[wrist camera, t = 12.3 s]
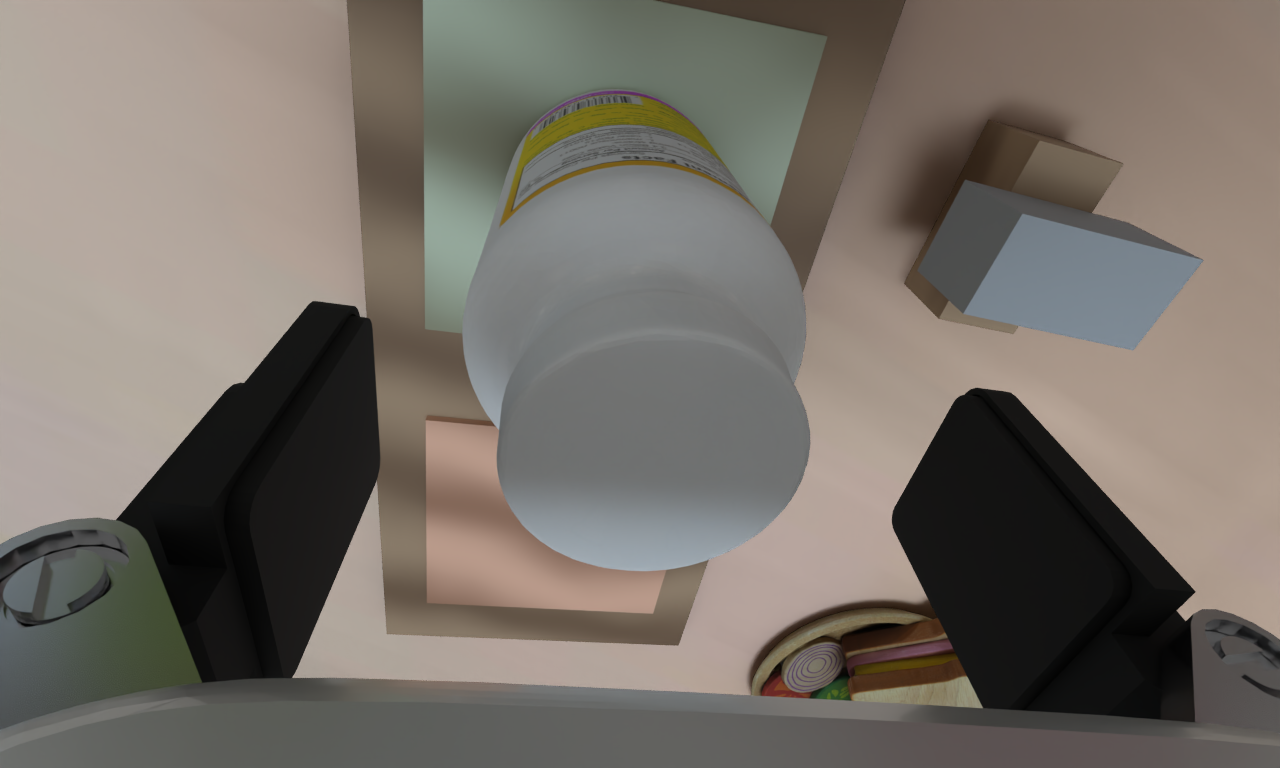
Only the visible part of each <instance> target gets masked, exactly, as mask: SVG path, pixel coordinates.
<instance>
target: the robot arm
mask: <svg viewBox="0 0 1280 768" xmlns="http://www.w3.org/2000/svg"><path fill="white" fill-rule="evenodd" d="M379 469H380V440H379V424H378V408H377V392H376V375H375V359H374V343H373V328H372V322H371V320H370V319H369V318H364V317H360V315H359V312H358V309H357V308H356V307H355V306H348V305H341V304H333V303H326V302H318V301H313V302H311V303H310V304H309V305H308V306H307V307H306V309H305V310H304V311H303V312H302V313H301V315H300V316H299V317H298V318H297V320H296V321H295V322H294V323H293V324H292V326H291V327H290V328H289V329H288V331H287V332H286V333H285V334H284V335H283V337H282V338H281V339H280V340H279V341H278V343H277V344H276V345H275V346H274V348H273V349H272V350H271V351H270V352H269V354H268V355H267V356H266V357H265V358H264V360H263V361H262V362H261V363H260V365H259V366H258V367H257V368H256V369H255V371H254V372H253V373H252V374H251V376H250V377H249V378H248V379H247V380H246V382H245V383H238V384H234V385H232V386H231V387H230V388H229V389H227V390H226V391H225V392H224V394H223V395H222V396H221V397H220V398H219V399H218V401H217V402H216V403H215V404H214V405H213V406H212V408H211V409H210V410H209V411H208V412H207V414H206V415H205V416H204V417H203V418H202V419H201V421H200V422H199V423H198V424H197V425H196V426H195V428H194V429H193V430H192V431H191V432H190V434H189V435H188V436H187V437H186V438H185V439H184V441H183V442H182V443H181V444H180V445H179V446H178V448H177V449H176V450H175V451H174V452H173V454H172V455H171V456H170V457H169V458H168V459H167V461H166V462H165V463H164V464H163V465H162V467H161V468H160V469H159V470H158V471H157V472H156V474H155V475H154V476H153V477H152V478H151V479H150V481H149V482H148V483H147V484H146V485H145V487H144V488H143V489H142V490H141V491H140V492H139V494H138V495H137V496H136V497H135V498H134V499H133V501H132V502H131V503H130V504H129V505H128V507H127V508H126V509H125V510H124V511H123V512H122V514H121V515H120V516H119V517H118V518H117V519H116V520H109V519H102V518H87V519H71V520H66V521H62V522H58V523H53V524H49V525H45V526H41V527H38V528H36V529H33V530H31V531H28V532H26V533H23V534H21V535H18V536H16V537H13V538H11V539H9V540H7V541H6V542H4V543H2V544H0V768H1280V640H1279V639H1278V638H1277V637H1275V636H1274V635H1273V634H1271V633H1269V632H1268V631H1266V630H1264V629H1262V628H1261V627H1259V626H1257V625H1256V624H1254V623H1252V622H1250V621H1248V620H1245V619H1243V618H1241V617H1239V616H1236V615H1234V614H1231V613H1227V612H1223V611H1220V610H1216V609H1202V610H1200V611H1198V612H1196V613H1195V614H1193V615H1192V616H1191V617H1190V618H1189V619H1188V620H1187V621H1185V620H1184V619H1183V618H1182V617H1181V615H1180V614H1179V613H1178V612H1177V611H1176V610H1177V609H1178V608H1179V607H1180V606H1182V605H1183V604H1184V603H1185V602H1186V601H1187V600H1188V599H1189V598H1190V597H1191V596H1192V595H1193V594H1194V593H1195V591H1194V590H1193V588H1192V587H1191V586H1190V585H1189V584H1188V583H1187V582H1186V581H1185V580H1184V579H1183V578H1182V577H1181V575H1180V574H1179V573H1178V572H1177V571H1176V570H1175V569H1174V568H1173V567H1172V566H1171V565H1170V563H1169V562H1168V561H1167V560H1166V559H1165V558H1164V557H1163V556H1162V555H1161V554H1160V553H1159V552H1158V550H1157V549H1156V548H1155V547H1154V546H1153V545H1152V544H1151V543H1150V542H1149V541H1148V540H1147V539H1146V537H1145V536H1144V535H1143V534H1142V533H1141V532H1140V531H1139V530H1138V529H1137V528H1136V527H1135V525H1134V524H1133V523H1132V522H1131V521H1130V520H1129V519H1128V518H1127V517H1126V516H1125V515H1124V514H1123V512H1122V511H1121V510H1120V509H1119V508H1118V507H1117V506H1116V505H1115V504H1114V503H1113V502H1112V500H1111V499H1110V498H1109V497H1108V496H1107V495H1106V494H1105V493H1104V492H1103V491H1102V490H1101V489H1100V487H1099V486H1098V485H1097V484H1096V483H1095V482H1094V481H1093V480H1092V479H1091V478H1090V477H1089V476H1088V474H1087V473H1086V472H1085V471H1084V470H1083V469H1082V468H1081V467H1080V466H1079V465H1078V464H1077V462H1076V461H1075V460H1074V459H1073V458H1072V457H1071V456H1070V455H1069V454H1068V453H1067V452H1066V451H1065V449H1064V448H1063V447H1062V446H1061V445H1060V444H1059V443H1058V442H1057V441H1056V440H1055V439H1054V437H1053V436H1052V435H1051V434H1050V433H1049V432H1048V431H1047V430H1046V429H1045V428H1044V427H1043V426H1042V424H1041V423H1040V422H1039V421H1038V420H1037V419H1036V418H1035V417H1034V416H1033V415H1032V414H1031V413H1030V411H1029V410H1028V409H1027V408H1026V407H1025V406H1024V405H1023V404H1022V403H1021V402H1020V401H1019V399H1018V398H1017V397H1016V396H1014V395H1013V394H1012V393H1009V392H1004V391H996V390H989V389H981V388H974V389H971V390H969V391H968V392H967V393H966V394H965V395H962V396H959V397H958V398H957V399H956V400H955V401H954V403H953V405H952V406H951V408H950V410H949V412H948V413H947V415H946V417H945V419H944V421H943V422H942V424H941V426H940V428H939V429H938V431H937V433H936V435H935V437H934V438H933V440H932V442H931V444H930V445H929V447H928V449H927V451H926V453H925V454H924V456H923V458H922V460H921V461H920V463H919V465H918V467H917V469H916V470H915V472H914V474H913V476H912V478H911V479H910V481H909V483H908V485H907V486H906V488H905V490H904V492H903V494H902V495H901V497H900V499H899V501H898V502H897V504H896V506H895V508H894V510H893V514H892V525H893V529H894V531H895V533H896V535H897V537H898V539H899V541H900V543H901V545H902V547H903V549H904V551H905V553H906V555H907V557H908V559H909V561H910V563H911V565H912V567H913V569H914V571H915V573H916V575H917V577H918V579H919V581H920V583H921V585H922V587H923V589H924V591H925V593H926V595H927V597H928V599H929V601H930V603H931V605H932V607H933V609H934V611H935V613H936V615H937V617H938V619H939V621H940V623H941V625H942V627H943V629H944V631H945V633H946V635H947V637H948V639H949V641H950V643H951V645H952V647H953V649H954V651H955V653H956V655H957V657H958V659H959V661H960V663H961V665H962V667H963V669H964V671H965V673H966V675H967V677H968V679H969V681H970V683H971V685H972V687H973V689H974V691H975V693H976V695H977V697H978V699H979V701H980V703H981V705H982V707H983V708H971V707H954V706H937V705H919V704H901V703H882V702H864V701H845V700H827V699H808V698H789V697H770V696H751V695H732V694H712V693H693V692H672V691H651V690H630V689H609V688H588V687H567V686H546V685H525V684H505V683H484V682H452V681H420V680H388V679H356V678H292V677H293V675H294V674H295V672H296V670H297V668H298V665H299V663H300V660H301V658H302V656H303V653H304V651H305V649H306V646H307V644H308V642H309V639H310V637H311V634H312V632H313V630H314V627H315V625H316V623H317V620H318V618H319V616H320V613H321V611H322V609H323V606H324V604H325V601H326V599H327V597H328V594H329V592H330V590H331V587H332V585H333V583H334V580H335V578H336V575H337V573H338V571H339V568H340V566H341V564H342V561H343V559H344V557H345V554H346V552H347V549H348V547H349V545H350V542H351V540H352V538H353V535H354V533H355V531H356V528H357V526H358V523H359V521H360V519H361V516H362V514H363V512H364V509H365V507H366V505H367V502H368V500H369V498H370V495H371V493H372V490H373V488H374V486H375V483H376V481H377V478H378V474H379Z"/></svg>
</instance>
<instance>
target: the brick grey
mask: <svg viewBox="0 0 1280 768" xmlns="http://www.w3.org/2000/svg"><path fill="white" fill-rule="evenodd" d="M1202 262H1203V260H1202V259H1200V258H1198V257H1196V256H1194V255H1192V254H1190V253H1188V252H1186V251H1184V250H1182V249H1180V248H1178V247H1176V246H1174V245H1172V244H1170V243H1168V242H1166V241H1164V240H1162V239H1160V238H1158V237H1156V236H1154V235H1152V234H1150V233H1148V232H1146V231H1144V230H1142V229H1140V228H1138V227H1136V226H1133V225H1131V224H1129V223H1127V222H1124V221H1120V220H1116V219H1112V218H1108V217H1105V216H1101V215H1097V214H1093V213H1089V212H1086V211H1082V210H1078V209H1074V208H1071V207H1067V206H1063V205H1059V204H1055V203H1052V202H1048V201H1044V200H1040V199H1036V198H1033V197H1029V196H1025V195H1021V194H1017V193H1014V192H1010V191H1006V190H1002V189H998V188H995V187H991V186H987V185H983V184H980V183H976V182H972V181H968V180H965V181H964V183H963V185H962V187H961V188H960V190H959V192H958V194H957V196H956V198H955V200H954V202H953V204H952V205H951V207H950V209H949V211H948V213H947V215H946V217H945V219H944V221H943V223H942V224H941V226H940V228H939V230H938V232H937V234H936V236H935V238H934V240H933V241H932V243H931V245H930V247H929V249H928V251H927V253H926V255H925V257H924V259H923V260H922V262H921V264H920V266H919V268H918V270H917V271H918V272H919V273H920V274H921V275H923V276H924V277H925V278H926V279H927V280H928V281H929V282H930V283H931V284H932V285H933V286H934V287H935V288H936V289H937V290H938V291H939V292H941V293H942V294H943V295H944V296H945V297H946V298H947V299H948V300H949V301H950V302H951V303H952V304H953V305H954V306H955V307H956V308H957V309H959V310H960V311H961V312H962V313H963V314H966V315H971V316H975V317H980V318H985V319H989V320H994V321H999V322H1003V323H1008V324H1013V325H1017V326H1022V327H1027V328H1031V329H1036V330H1041V331H1045V332H1050V333H1055V334H1059V335H1064V336H1069V337H1073V338H1078V339H1083V340H1087V341H1092V342H1097V343H1101V344H1106V345H1111V346H1115V347H1120V348H1125V349H1129V350H1134V349H1135V347H1136V346H1137V345H1138V343H1139V342H1140V341H1141V340H1142V338H1143V337H1144V336H1145V335H1146V333H1147V332H1148V331H1149V329H1150V328H1151V327H1152V326H1153V324H1154V323H1155V322H1156V320H1157V319H1158V318H1159V317H1160V315H1161V314H1162V313H1163V312H1164V310H1165V309H1166V308H1167V306H1168V305H1169V304H1170V303H1171V301H1172V300H1173V299H1174V298H1175V296H1176V295H1177V294H1178V292H1179V291H1180V290H1181V289H1182V287H1183V286H1184V285H1185V283H1186V282H1187V281H1188V280H1189V278H1190V277H1191V276H1192V275H1193V273H1194V272H1195V271H1196V269H1197V268H1198V267H1199V266H1200V264H1201V263H1202Z"/></svg>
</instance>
